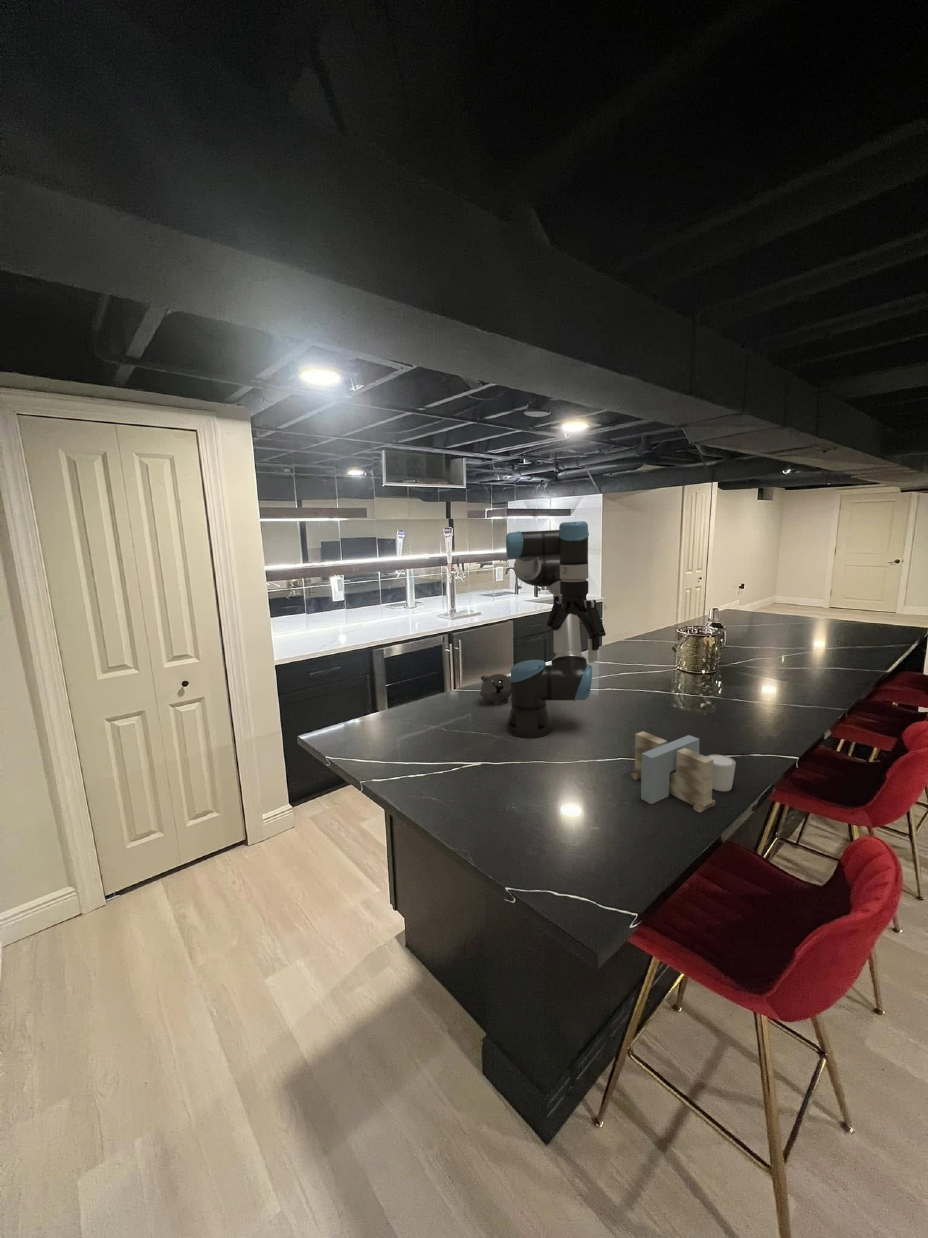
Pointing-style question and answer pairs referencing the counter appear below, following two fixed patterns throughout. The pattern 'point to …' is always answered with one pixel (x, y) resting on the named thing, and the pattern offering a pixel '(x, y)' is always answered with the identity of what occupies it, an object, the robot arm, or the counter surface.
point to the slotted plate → (662, 767)
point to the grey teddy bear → (496, 688)
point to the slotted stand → (681, 772)
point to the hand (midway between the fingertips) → (574, 656)
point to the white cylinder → (722, 772)
